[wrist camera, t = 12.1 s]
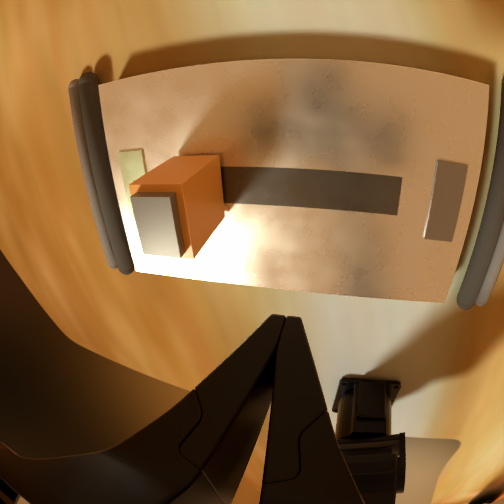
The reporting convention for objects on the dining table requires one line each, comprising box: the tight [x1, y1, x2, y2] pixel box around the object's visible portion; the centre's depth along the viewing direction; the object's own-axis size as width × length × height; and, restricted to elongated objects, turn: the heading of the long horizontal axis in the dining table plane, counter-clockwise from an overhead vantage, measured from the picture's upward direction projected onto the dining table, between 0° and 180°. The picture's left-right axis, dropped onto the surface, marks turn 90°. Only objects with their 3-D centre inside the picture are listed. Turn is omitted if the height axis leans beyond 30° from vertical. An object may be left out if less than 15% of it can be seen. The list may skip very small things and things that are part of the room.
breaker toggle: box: [129, 155, 225, 260], centre depth 17 cm, size 4×3×6 cm
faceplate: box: [98, 58, 489, 303], centre depth 19 cm, size 15×24×2 cm, turn 93°
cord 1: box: [68, 72, 135, 275], centre depth 23 cm, size 18×3×2 cm, turn 3°
